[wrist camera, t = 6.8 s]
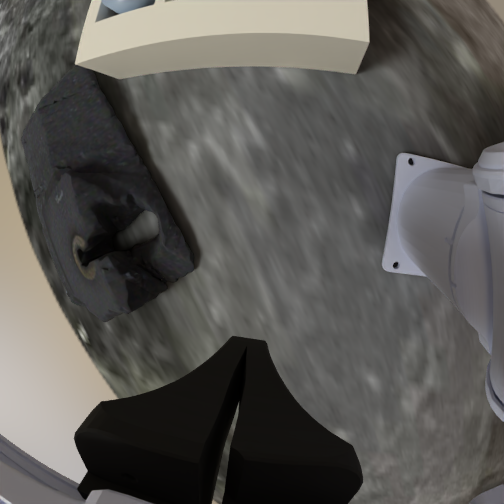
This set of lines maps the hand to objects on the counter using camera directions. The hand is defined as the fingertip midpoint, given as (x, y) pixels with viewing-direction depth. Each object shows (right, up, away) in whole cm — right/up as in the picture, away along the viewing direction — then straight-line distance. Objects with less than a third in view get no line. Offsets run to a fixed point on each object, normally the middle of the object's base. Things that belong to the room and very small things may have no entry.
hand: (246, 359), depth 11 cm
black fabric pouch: (-14, +10, +12) cm, 21 cm away
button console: (-1, +22, +5) cm, 23 cm away
